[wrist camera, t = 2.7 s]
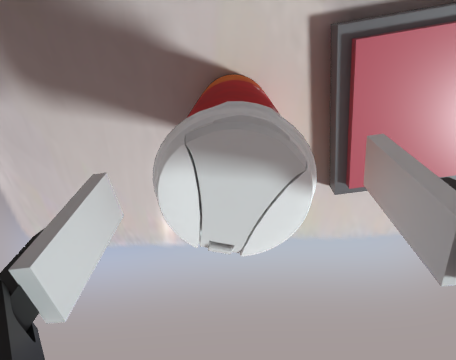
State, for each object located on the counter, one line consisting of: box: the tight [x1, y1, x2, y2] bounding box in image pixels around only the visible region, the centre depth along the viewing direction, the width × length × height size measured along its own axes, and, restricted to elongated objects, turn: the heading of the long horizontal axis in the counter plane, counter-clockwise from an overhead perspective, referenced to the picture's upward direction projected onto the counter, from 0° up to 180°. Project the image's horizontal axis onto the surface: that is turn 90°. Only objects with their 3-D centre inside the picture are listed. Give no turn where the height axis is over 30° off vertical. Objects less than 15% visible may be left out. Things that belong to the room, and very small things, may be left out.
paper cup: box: [153, 75, 317, 256], centre depth 19 cm, size 8×8×14 cm
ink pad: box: [330, 3, 456, 195], centre depth 24 cm, size 14×14×2 cm
